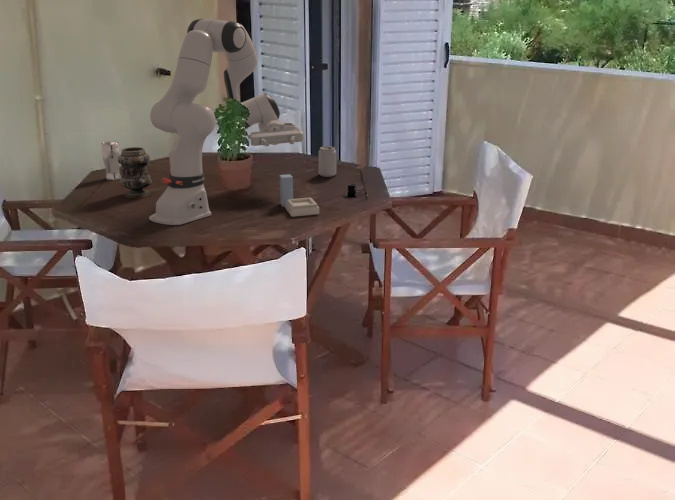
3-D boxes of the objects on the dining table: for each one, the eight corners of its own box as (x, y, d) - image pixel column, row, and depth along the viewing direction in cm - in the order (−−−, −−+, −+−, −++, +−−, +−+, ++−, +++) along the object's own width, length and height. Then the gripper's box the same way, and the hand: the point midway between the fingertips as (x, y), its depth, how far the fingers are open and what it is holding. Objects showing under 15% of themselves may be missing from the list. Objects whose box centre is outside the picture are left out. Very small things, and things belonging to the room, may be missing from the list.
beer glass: (121, 175, 314) (118, 140, 308) (122, 179, 307) (118, 144, 302) (104, 177, 312) (100, 141, 306) (105, 181, 305) (101, 145, 300)
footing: (319, 214, 263) (319, 204, 262) (291, 216, 260) (291, 207, 259) (312, 206, 272) (312, 197, 271) (285, 208, 269) (285, 199, 268)
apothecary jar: (152, 189, 293) (148, 144, 287) (154, 197, 283) (150, 151, 276) (120, 192, 290) (115, 146, 284) (121, 200, 279) (116, 153, 273)
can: (339, 175, 313) (339, 147, 309) (325, 178, 309) (324, 150, 305) (329, 172, 319) (329, 144, 315) (315, 174, 315) (315, 146, 311)
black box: (358, 200, 281) (359, 189, 279) (339, 199, 282) (339, 188, 280) (363, 191, 292) (363, 180, 291) (344, 191, 293) (344, 179, 292)
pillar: (293, 206, 272) (292, 176, 268) (282, 207, 271) (281, 177, 267) (290, 203, 276) (290, 174, 272) (280, 203, 275) (279, 175, 271)
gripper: (246, 127, 286) (251, 137, 274) (298, 122, 290) (305, 132, 278) (247, 143, 289) (252, 153, 277) (299, 138, 293) (306, 148, 281)
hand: (279, 143), depth 277 cm, fingers open, 8 cm apart
